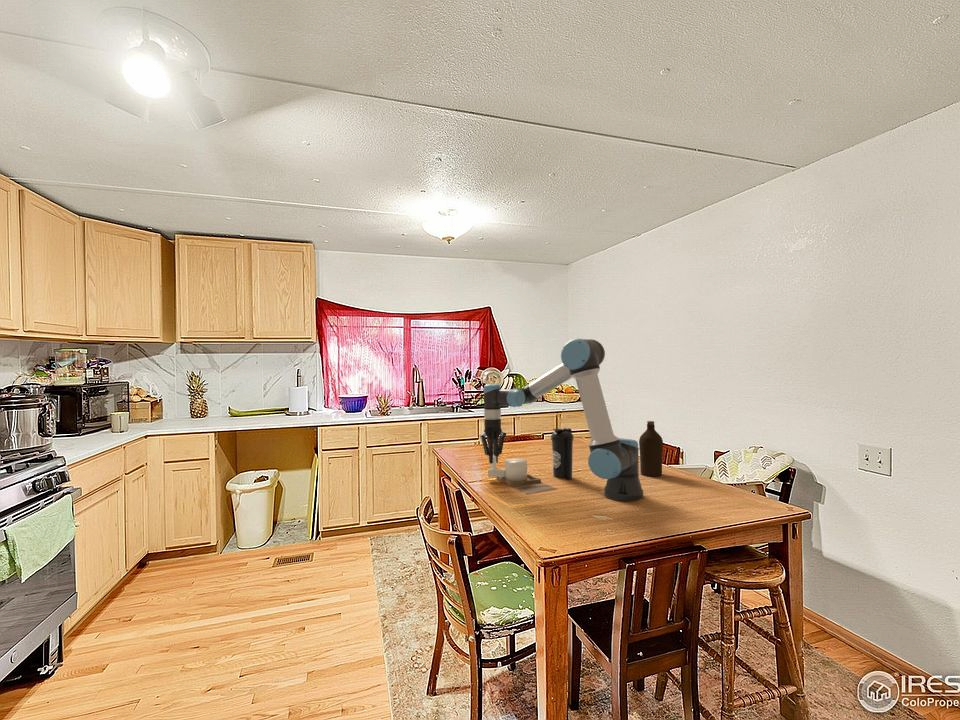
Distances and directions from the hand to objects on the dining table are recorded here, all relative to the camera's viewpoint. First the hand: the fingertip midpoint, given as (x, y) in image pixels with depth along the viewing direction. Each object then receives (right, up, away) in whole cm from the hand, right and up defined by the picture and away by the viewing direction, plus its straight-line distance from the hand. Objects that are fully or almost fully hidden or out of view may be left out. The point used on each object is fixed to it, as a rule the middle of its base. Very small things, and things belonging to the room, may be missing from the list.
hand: (493, 470), depth 215 cm
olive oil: (+75, -4, +8) cm, 75 cm away
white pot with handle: (+6, -4, -3) cm, 8 cm away
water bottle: (+32, -5, +4) cm, 33 cm away
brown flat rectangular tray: (+14, -5, -8) cm, 17 cm away
